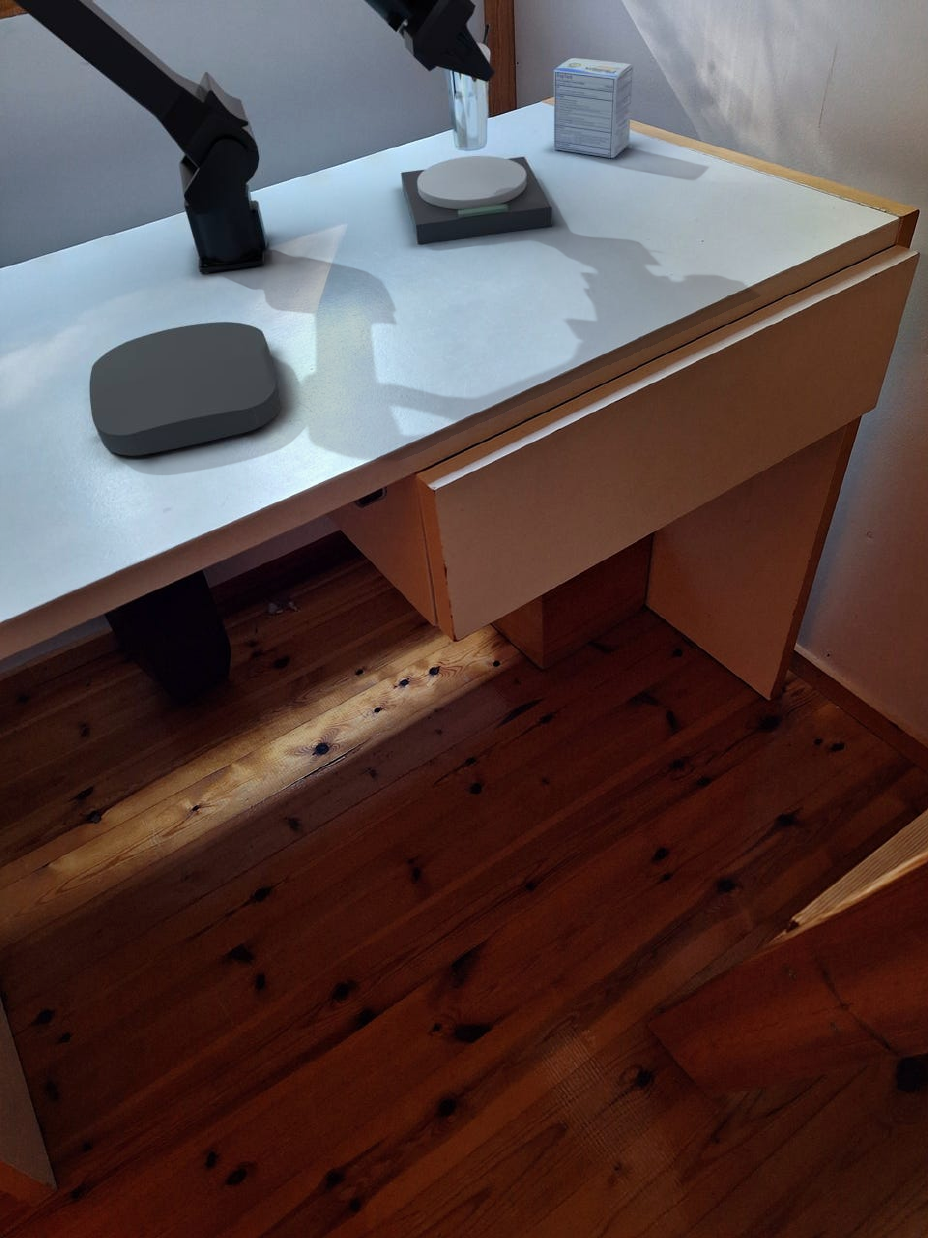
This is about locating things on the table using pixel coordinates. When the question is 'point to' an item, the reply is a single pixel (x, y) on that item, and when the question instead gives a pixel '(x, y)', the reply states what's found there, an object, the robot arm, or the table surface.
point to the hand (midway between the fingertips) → (484, 69)
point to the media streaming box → (183, 388)
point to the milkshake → (469, 106)
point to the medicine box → (592, 106)
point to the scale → (474, 198)
